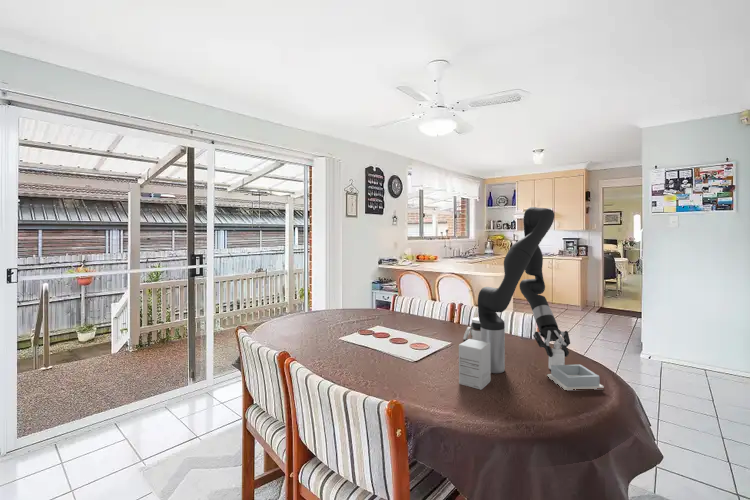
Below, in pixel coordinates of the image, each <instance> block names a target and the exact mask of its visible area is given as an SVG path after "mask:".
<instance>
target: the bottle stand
mask: <svg viewBox="0 0 750 500" xmlns="http://www.w3.org/2000/svg"><path fill="white" fill-rule="evenodd" d="M547 376H548V377H549V378H548V377H547ZM546 377H547V378H548V379H550V380H551V381H552V380H553V381H554V382H553V381H552V382H553V383H555V385H557V384H558V385H559V386H560V388H561V387H562V388H563V389H564V390H567V391H577V390H576V389H594V390H598V389H597V388H604V387H605V386H604V385H603V384H601V383H600V375H599V374H597V373H595V372H594V371H592V370H590V369H589V368H587V367H585V366H584V365H582V364H579V363H577V364H565V365H551V369H550V373H547V375H546ZM558 385H557V386H558ZM559 386H558V387H559ZM562 388H561V389H562ZM563 389H562V390H563ZM573 389H575V390H573ZM564 390H563V391H564Z"/></svg>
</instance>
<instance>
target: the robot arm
mask: <svg viewBox="0 0 750 500" xmlns="http://www.w3.org/2000/svg"><path fill="white" fill-rule="evenodd" d="M554 220H555V212H554V210H552V209H551V208H545V207H536V206H535V207H534V206H530V207H527V208H526V209H525V212H524V214H523V232H524V233H523V235H524V237H522V238H520V239H519V240H518V241H516V242H515V243H513V245H511V247H509V250H508V251H507V253H506V255H505V256H504V259H503V269H504V270H503V271H504V276H503V279H502V282H501V284H500V285H499V287H498V288H496V287H493V286H492V287H490V286H484V287H482V288H481V289H480V290H479V293H478V296H477V312H478V313H477V314H478V315H477V317H479V321H480V324H481V341H483V342H489V343H490V365H491V374H501V373H503V372H505V369H506V368H505V366H506V365H505V362H506V361H505V354H506V353H505V342H506V340H505V337H506V334H505V332H506V331H505V328H506V325H505V321H504V320H503V319H502V318H501V317H500V316H499V315H498V314H497V313H503V312H504V311H506V310H507V308H508V307H509V305H510V303H511V300H512V298H513V296H514V293H515V291H516V289H517V286H518V284H519V290H520V293H521V294H522V295H523V297H524V298H525V300H527V302H528V304H529V305H530V308H531V312H532V315H533V319H534V321H535V324H536V326H537V329H538V331H535V332H533V334H532V336H533V337H534V340H535V341H536V342H537V343H536V344H537V345H538V346H539V347H540V348H544V350H545V352H546V355H547V356H548V358H549V357H552V356H553V353H552V350H551V349H552V348H551V346H550V342H556V340H558V342H559V343H560V349H562V350H563V351H564V352H565V358H566V357H568V356H569V354H570V351H569V349H568V346H570V344H571V339H570V335H569V331H567V330H565V331H563V330H560V328H559V326H558V322H557V321H556V317H555V316H554V313H553V310H552V308H551V307H550V305H549V303H548V300H547V298H546V297H545V296H544V295H543V293H544V292H545V291H546V284H545V280H544V275H543V262H544V258H543V257H544V256H543V252H542V250H541V247H540V243H541V242H542V240H543V239H544V237H545V236H546V234H548V232H549V230H550V229H551V227H552V225H553V223H554ZM524 272H525V274H526V275H529V276H533V277H534V278H528V279H525V278H524V279H522V280H521V278H522V277H523V274H524ZM541 294H542V295H541ZM542 338H543V339H544V340H543V339H542Z"/></svg>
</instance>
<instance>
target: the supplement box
mask: <svg viewBox="0 0 750 500" xmlns="http://www.w3.org/2000/svg"><path fill="white" fill-rule="evenodd" d="M491 374H492V373H491V365H490V343H489V342H483V341H478V340H473V339H471V338H467V339H466V340H465V341H463V342H461V343H459V344H458V384H459V385H463V386H466V387H470V388H473V389H477V390H481V391H482V390H483V389H484V388H485V387H486V386H487V385H488V384H489V383H490V382H491Z"/></svg>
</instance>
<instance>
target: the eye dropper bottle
mask: <svg viewBox="0 0 750 500" xmlns="http://www.w3.org/2000/svg"><path fill="white" fill-rule="evenodd" d="M558 340H559V339H558ZM558 340H556V342H555V341H553V347H552V348H551V350H552V353H553V356H552V357H549V356H548V369H549V370H551V365H566V364H565V361H566V360H565V358H566V357H565V352H564V351H563V350H562V349H561V346H560V343H559V342H558Z"/></svg>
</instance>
